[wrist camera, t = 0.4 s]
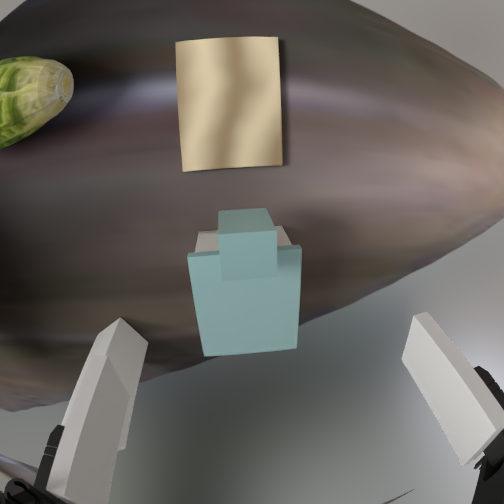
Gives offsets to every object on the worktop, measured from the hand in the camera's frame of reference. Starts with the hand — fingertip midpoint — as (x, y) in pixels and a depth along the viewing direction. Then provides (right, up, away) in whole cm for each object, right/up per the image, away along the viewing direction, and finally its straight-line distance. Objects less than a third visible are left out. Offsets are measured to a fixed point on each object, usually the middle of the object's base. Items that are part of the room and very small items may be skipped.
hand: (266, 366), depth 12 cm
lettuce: (-30, +24, +14) cm, 41 cm away
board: (-3, +21, +18) cm, 28 cm away
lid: (-1, +1, +20) cm, 20 cm away
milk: (-20, -8, +30) cm, 37 cm away
